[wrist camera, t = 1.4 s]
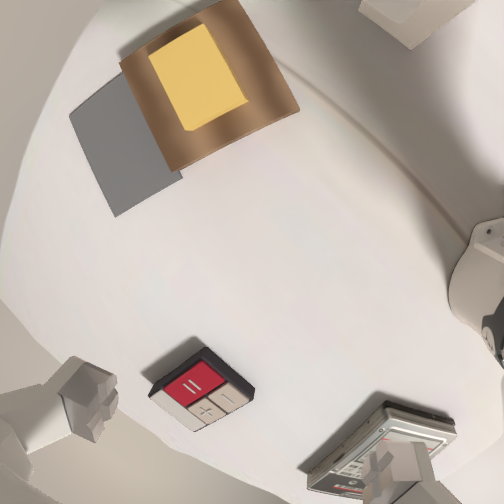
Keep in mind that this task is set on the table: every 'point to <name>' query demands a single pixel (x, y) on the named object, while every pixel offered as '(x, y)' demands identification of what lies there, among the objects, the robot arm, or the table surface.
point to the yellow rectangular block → (197, 78)
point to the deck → (245, 69)
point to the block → (412, 17)
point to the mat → (121, 147)
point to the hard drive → (364, 443)
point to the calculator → (201, 391)
